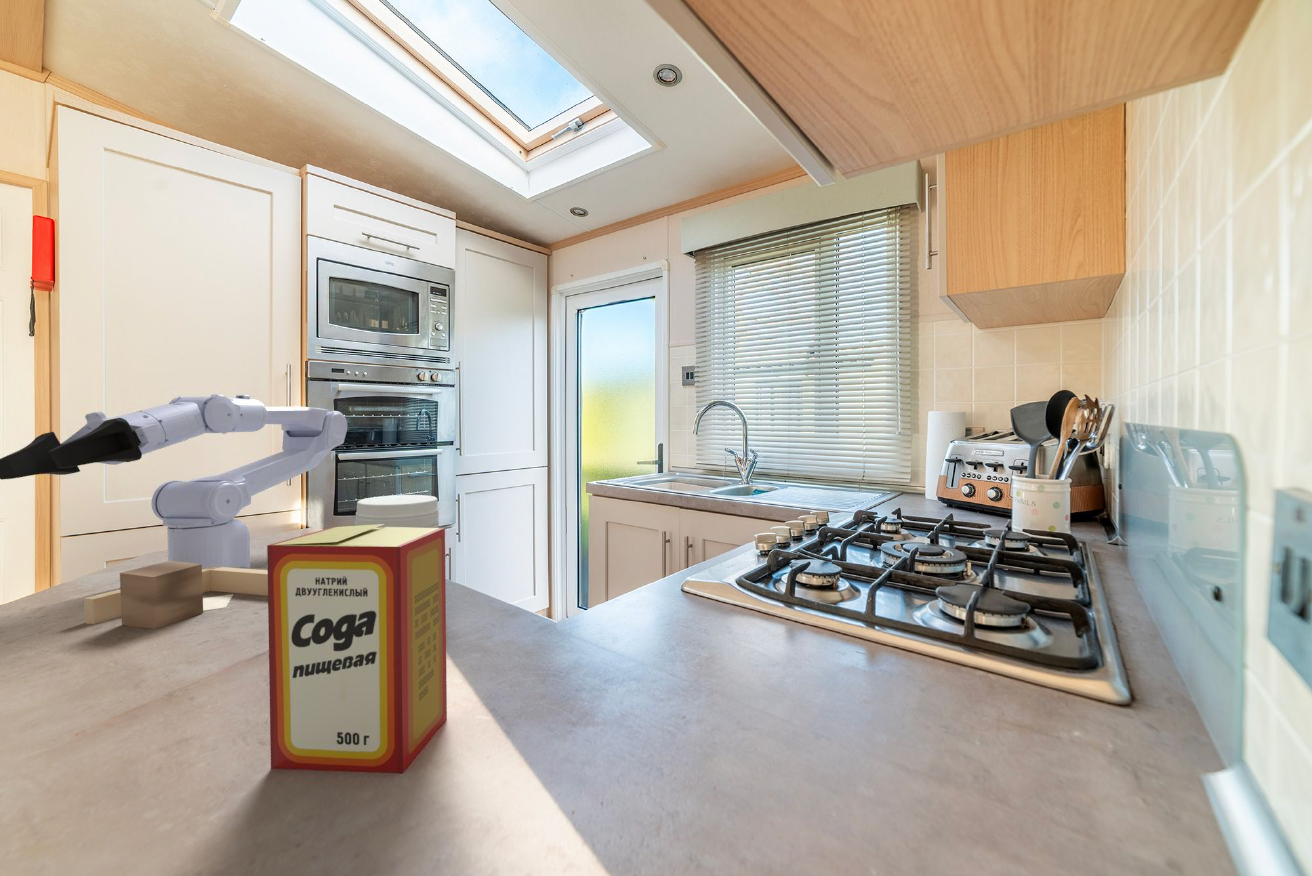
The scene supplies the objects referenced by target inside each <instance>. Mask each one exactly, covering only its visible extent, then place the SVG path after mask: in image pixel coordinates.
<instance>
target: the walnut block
mask: <svg viewBox="0 0 1312 876" xmlns="http://www.w3.org/2000/svg"><path fill="white" fill-rule="evenodd" d="M119 587H120V592H121V617H120V618H121V625H122V626H127V627H128V626H129V627H134V628H136V627H137V628H144V629H152V630H155V629H158V628H161V627H164V626H169V625H172V624H174V623H178V622H180V621H185V620H186V619H190V618H192V617H195V616H199V615H201V614H203V613H204V611H203V598H204V596H203V594H204V593H203V587H202V564H196V563H187V562H179V561H168V560H167V561H162V562H158V563H155V564H151V565H150V564H149V565H147V566H142V567H139V568H135V569H130V570H127V571H122V572H120V573H119Z"/></svg>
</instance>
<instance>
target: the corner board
mask: <svg viewBox="0 0 1312 876" xmlns="http://www.w3.org/2000/svg"><path fill="white" fill-rule="evenodd" d="M202 587H203V594H204V593H207V592H210V591H211V592H222V593H230V594H225V595H216V596H211V597H203V612H206V611H214V610H221V609H226V607H228V604H229V602H230V601H231V599H232V598H233V596H234V593H235V594H243V595H255V596H267V597H268V569H266V570H265V569H255V568H254V569H253V568H243V567H240V568H228V567H215V566H213V567H209V568H205V569H202ZM231 593H233V594H231ZM117 618H122V617H121V592H120V589H116V590H112V591H108V592H104V593H100V594H96V595H92V596H87V597H83V620H84V622H83V623H84V624H88V625H95V624H99V623H102V622H106V621H109V620H114V619H117Z"/></svg>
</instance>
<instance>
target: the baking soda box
mask: <svg viewBox="0 0 1312 876" xmlns="http://www.w3.org/2000/svg"><path fill="white" fill-rule="evenodd" d="M381 525H384V524H376V525H360V526H355V525H347V526H332V527H328V528H323V529H321V530H317V531H314V532H310V533H307V534H303V535H299V536H296V537H293V538H288V539H285V540H281V541H278V542H274V543H270V544H267V545H266V551H267V552H266V553H267V557H266V558H267V559H266V560H267V562H266V565H267V570H268V596H267V606H268V607H267V615H268V621H267V622H268V667H269V668H268V669H269V671H268V673H269V675H268V676H269V725H270V727H269V731H270V733H269V734H270V736H269V739H270V741H269V742H270V744H269V745H270V769H271V770H293V771H294V770H296V771H298V770H299V771H325V772H327V771H328V772H351V773H352V772H353V773H354V772H355V773H359V772H360V773H382V774H386V773H387V774H404V772H406V770H407V769H408V768H409V767H410V766H411V764H412V763H413V762H414V761H415V759H416V758H417V757H418V755H419V754H420V753H421V752H422V751H423V750H424V748H425V747H426V746H427V744H428V743H429V742H430V741H431V740H432V739H433V737H434V736H435V734H437V732H438V731H439V730H440V729H441V728H442V726H443V725H444V724H445V723H446V721H447V720H448V711H447V710H448V708H447V707H448V705H447V704H448V703H447V702H448V700H447V699H448V698H447V695H448V694H447V689H448V688H447V686H448V685H447V621H446V620H447V617H446V616H447V613H446V611H447V607H446V605H447V604H446V599H447V597H446V596H447V595H446V593H447V592H446V591H447V590H446V588H447V587H446V528H445V527H439V528H413V527H384V528H376V527H378V526H381Z"/></svg>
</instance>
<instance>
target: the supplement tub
mask: <svg viewBox="0 0 1312 876" xmlns="http://www.w3.org/2000/svg"><path fill="white" fill-rule="evenodd" d="M439 509H440V508H439V506H438V498H437V497H436V496H434V495H433V496H432V495H427V494H426V495H425V494H395V495H385V496H384V495H382V496H374V497H373V496H372V497H367V498H363V499H360V500H358V501H356V512H355V517H354V519H355V521H354V524H355V525H354V526H360V525H376V524H384V525H381V526H378V527H376V528H384V527H413V528H440V527H439V526H440V523H439V522H440V521H439V520H440V519H439V514H440V513H439Z"/></svg>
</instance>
